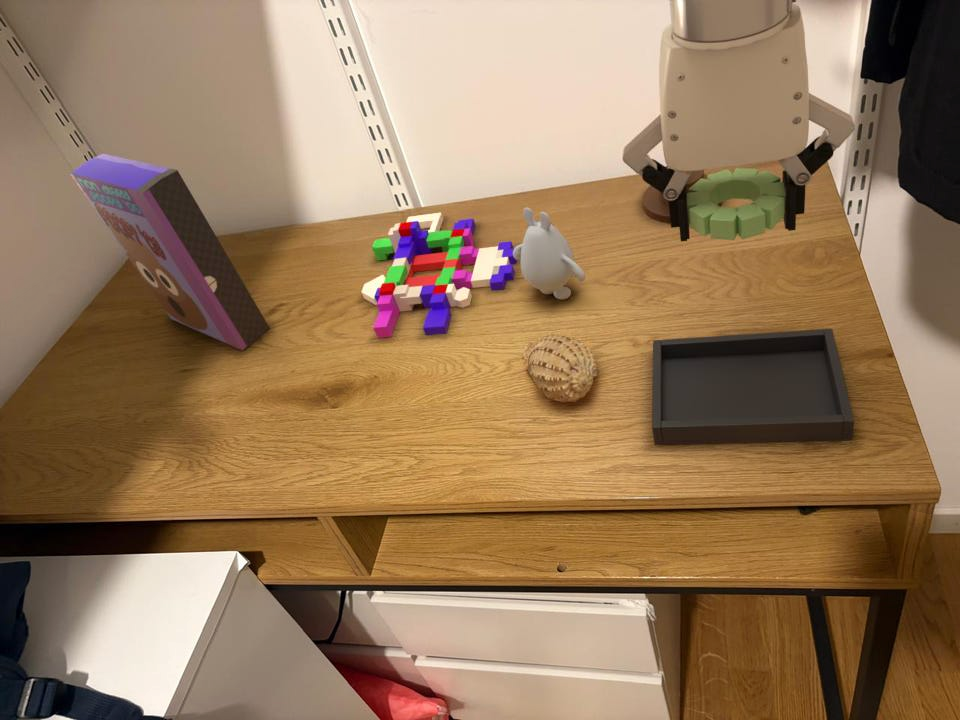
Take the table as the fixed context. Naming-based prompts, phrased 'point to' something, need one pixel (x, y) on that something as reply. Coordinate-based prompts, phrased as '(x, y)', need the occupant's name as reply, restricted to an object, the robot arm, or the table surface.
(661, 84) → the robot arm
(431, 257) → the building block set
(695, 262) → the table surface
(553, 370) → the seashell
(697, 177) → the stand
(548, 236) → the toy figure
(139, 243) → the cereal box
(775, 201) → the ring
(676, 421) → the tray
